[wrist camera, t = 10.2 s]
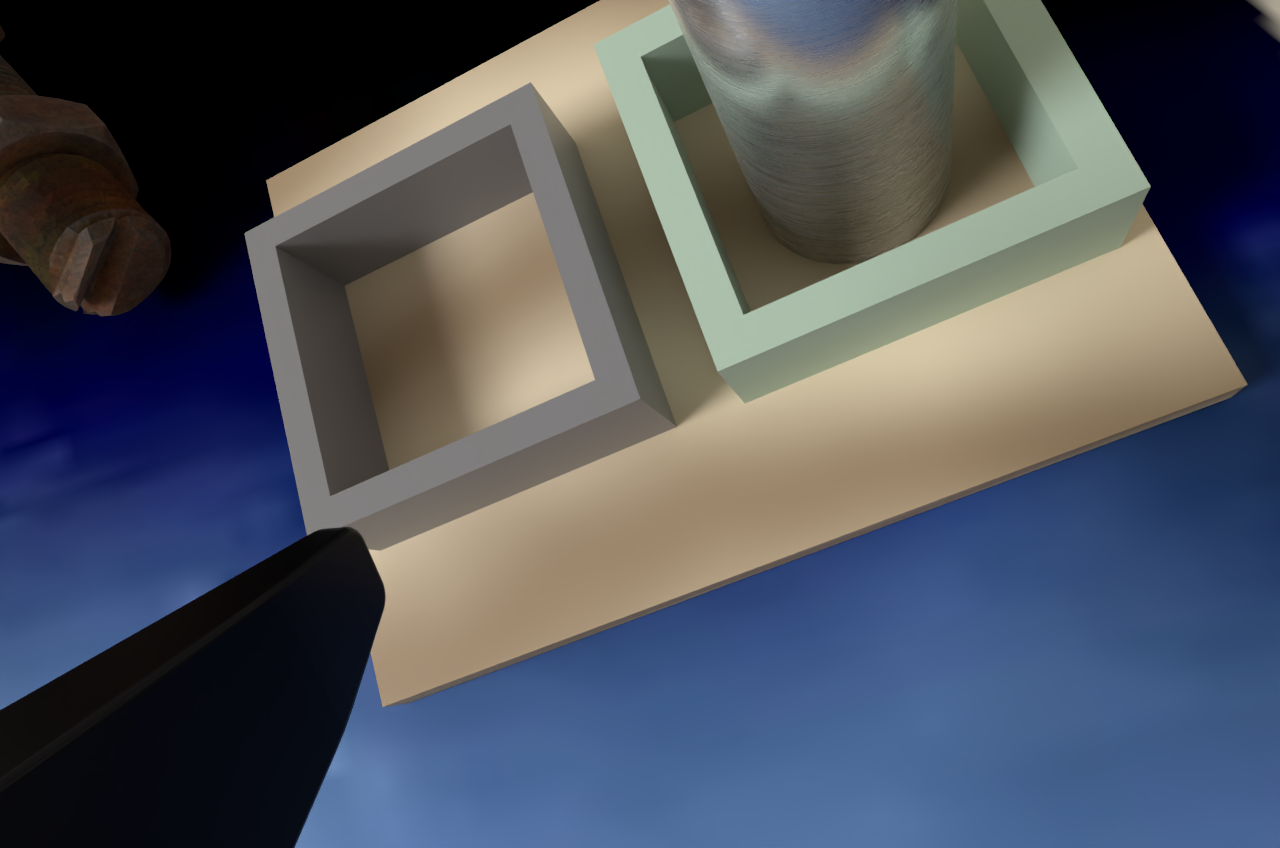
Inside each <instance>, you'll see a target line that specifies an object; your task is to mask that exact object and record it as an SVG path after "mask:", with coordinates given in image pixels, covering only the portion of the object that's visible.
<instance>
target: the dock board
mask: <svg viewBox="0 0 1280 848" xmlns="http://www.w3.org/2000/svg"><path fill="white" fill-rule="evenodd" d="M669 4H670V3H669V1H668V0H600V1H598V2H596V3H595V4H593V5H591V6H589V7H587V8H585V9H583V10H582V11H580V12H578V13H576V14H574V15H572V16H570V17H569V18H567V19H565V20H563V21H561V22H559V23H557V24H556V25H554V26H552V27H550V28H548V29H546V30H544V31H543V32H541V33H539V34H537V35H535V36H533V37H531V38H530V39H528V40H526V41H524V42H522V43H520V44H519V45H517V46H515V47H513V48H511V49H509V50H507V51H506V52H504V53H502V54H500V55H498V56H496V57H494V58H493V59H491V60H489V61H487V62H485V63H483V64H481V65H480V66H478V67H476V68H474V69H472V70H470V71H468V72H467V73H465V74H463V75H461V76H459V77H457V78H455V79H454V80H452V81H450V82H448V83H446V84H444V85H442V86H441V87H439V88H437V89H435V90H433V91H431V92H430V93H428V94H426V95H424V96H422V97H420V98H418V99H417V100H415V101H413V102H411V103H409V104H407V105H405V106H404V107H402V108H400V109H398V110H396V111H394V112H392V113H391V114H389V115H387V116H385V117H383V118H381V119H379V120H378V121H376V122H374V123H372V124H370V125H368V126H366V127H365V128H363V129H361V130H359V131H357V132H355V133H354V134H352V135H350V136H348V137H346V138H344V139H342V140H341V141H339V142H337V143H335V144H333V145H331V146H329V147H328V148H326V149H324V150H322V151H320V152H318V153H316V154H315V155H313V156H311V157H309V158H307V159H305V160H303V161H302V162H300V163H298V164H296V165H294V166H292V167H290V168H289V169H287V170H285V171H283V172H281V173H279V174H277V175H276V176H274V177H272V178H270V179H268V180H266V182H267V186H268V191H269V195H270V200H271V204H272V209H273V213H274V217H276V216H278V215H280V214H282V213H284V212H285V211H287V210H289V209H291V208H293V207H295V206H297V205H299V204H301V203H303V202H304V201H306V200H308V199H310V198H312V197H314V196H316V195H318V194H320V193H322V192H323V191H325V190H327V189H329V188H331V187H333V186H335V185H337V184H339V183H340V182H342V181H344V180H346V179H348V178H350V177H352V176H354V175H356V174H358V173H359V172H361V171H363V170H365V169H367V168H369V167H371V166H373V165H375V164H377V163H378V162H380V161H382V160H384V159H386V158H388V157H390V156H392V155H394V154H395V153H397V152H399V151H401V150H403V149H405V148H407V147H409V146H411V145H413V144H414V143H416V142H418V141H420V140H422V139H424V138H426V137H428V136H430V135H431V134H433V133H435V132H437V131H439V130H441V129H443V128H445V127H447V126H449V125H450V124H452V123H454V122H456V121H458V120H460V119H462V118H464V117H466V116H468V115H469V114H471V113H473V112H475V111H477V110H479V109H481V108H483V107H485V106H486V105H488V104H490V103H492V102H494V101H496V100H498V99H500V98H502V97H504V96H505V95H507V94H509V93H511V92H513V91H515V90H517V89H519V88H521V87H523V86H524V85H526V84H528V83H530V82H531V83H532V85H533V86H534V87H535V89H536V90H537V91H538V93H539V94H540V95H541V97H542V98H543V99H544V101H545V102H546V103H547V105H548V106H549V107H550V109H551V110H552V112H553V113H554V114H555V116H556V117H557V118H558V120H559V121H560V122H561V124H562V125H563V126H564V128H565V129H566V130H567V132H568V133H569V134H570V136H571V137H572V138H573V140H574V141H575V143H576V145H577V148H578V151H579V154H580V157H581V159H582V162H583V165H584V168H585V171H586V173H587V176H588V179H589V182H590V185H591V187H592V190H593V193H594V196H595V199H596V201H597V204H598V207H599V210H600V213H601V215H602V218H603V221H604V224H605V227H606V229H607V232H608V235H609V238H610V241H611V244H612V246H613V249H614V252H615V255H616V258H617V260H618V263H619V266H620V269H621V272H622V274H623V277H624V280H625V283H626V286H627V288H628V291H629V294H630V297H631V300H632V302H633V305H634V308H635V311H636V314H637V316H638V319H639V322H640V325H641V328H642V330H643V333H644V336H645V339H646V342H647V344H648V347H649V350H650V353H651V356H652V359H653V361H654V364H655V367H656V370H657V373H658V375H659V378H660V381H661V384H662V387H663V389H664V392H665V395H666V398H667V401H668V403H669V406H670V409H671V412H672V415H673V417H674V420H675V423H676V426H677V427H676V428H673V429H671V430H669V431H666V432H664V433H661V434H659V435H657V436H654V437H652V438H649V439H647V440H645V441H642V442H640V443H637V444H635V445H633V446H630V447H628V448H625V449H623V450H621V451H618V452H616V453H613V454H611V455H609V456H606V457H604V458H601V459H599V460H597V461H594V462H592V463H589V464H587V465H585V466H582V467H580V468H577V469H575V470H573V471H570V472H568V473H565V474H563V475H561V476H558V477H556V478H554V479H551V480H549V481H546V482H544V483H542V484H539V485H537V486H534V487H532V488H530V489H527V490H525V491H522V492H520V493H518V494H515V495H513V496H510V497H508V498H506V499H503V500H501V501H498V502H496V503H494V504H491V505H489V506H486V507H484V508H482V509H479V510H477V511H474V512H472V513H470V514H467V515H465V516H462V517H460V518H458V519H455V520H453V521H450V522H448V523H446V524H443V525H441V526H438V527H436V528H434V529H431V530H429V531H426V532H424V533H422V534H419V535H417V536H414V537H412V538H410V539H407V540H405V541H403V542H400V543H398V544H395V545H393V546H391V547H388V548H386V549H383V550H381V551H378V550H371V549H369V552H370V554H371V556H372V559H373V561H374V563H375V565H376V568H377V570H378V572H379V574H380V577H381V579H382V581H383V584H384V588H385V595H386V600H385V607H384V611H383V614H382V617H381V620H380V624H379V627H378V630H377V633H376V636H375V639H374V642H373V645H372V649H371V656H372V660H373V665H374V669H375V674H376V678H377V683H378V688H379V692H380V697H381V701H382V706H383V707H386V706H393V705H399V704H406V703H410V702H413V701H415V700H418V699H421V698H423V697H426V696H429V695H431V694H434V693H437V692H439V691H442V690H445V689H448V688H450V687H453V686H456V685H458V684H461V683H464V682H466V681H469V680H472V679H475V678H477V677H480V676H483V675H485V674H488V673H491V672H493V671H496V670H499V669H501V668H504V667H507V666H510V665H512V664H515V663H518V662H520V661H523V660H526V659H528V658H531V657H534V656H536V655H539V654H542V653H545V652H547V651H550V650H553V649H555V648H558V647H561V646H563V645H566V644H569V643H571V642H574V641H577V640H580V639H582V638H585V637H588V636H590V635H593V634H596V633H598V632H601V631H604V630H607V629H609V628H612V627H615V626H617V625H620V624H623V623H625V622H628V621H631V620H633V619H636V618H639V617H642V616H644V615H647V614H650V613H652V612H655V611H658V610H660V609H663V608H666V607H668V606H671V605H674V604H677V603H679V602H682V601H685V600H687V599H690V598H693V597H695V596H698V595H701V594H703V593H706V592H709V591H712V590H714V589H717V588H720V587H722V586H725V585H728V584H730V583H733V582H736V581H739V580H741V579H744V578H747V577H749V576H752V575H755V574H757V573H760V572H763V571H765V570H768V569H771V568H774V567H776V566H779V565H782V564H784V563H787V562H790V561H792V560H795V559H798V558H800V557H803V556H806V555H809V554H811V553H814V552H817V551H819V550H822V549H825V548H827V547H830V546H833V545H835V544H838V543H841V542H844V541H846V540H849V539H852V538H854V537H857V536H860V535H862V534H865V533H868V532H871V531H873V530H876V529H879V528H881V527H884V526H887V525H889V524H892V523H895V522H897V521H900V520H903V519H906V518H908V517H911V516H914V515H916V514H919V513H922V512H924V511H927V510H930V509H932V508H935V507H938V506H941V505H943V504H946V503H949V502H951V501H954V500H957V499H959V498H962V497H965V496H968V495H970V494H973V493H976V492H978V491H981V490H984V489H986V488H989V487H992V486H994V485H997V484H1000V483H1003V482H1005V481H1008V480H1011V479H1013V478H1016V477H1019V476H1021V475H1024V474H1027V473H1029V472H1032V471H1035V470H1038V469H1040V468H1043V467H1046V466H1048V465H1051V464H1054V463H1056V462H1059V461H1062V460H1064V459H1067V458H1070V457H1073V456H1075V455H1078V454H1081V453H1083V452H1086V451H1089V450H1091V449H1094V448H1097V447H1100V446H1102V445H1105V444H1108V443H1110V442H1113V441H1116V440H1118V439H1121V438H1124V437H1126V436H1129V435H1132V434H1135V433H1137V432H1140V431H1143V430H1145V429H1148V428H1151V427H1153V426H1156V425H1159V424H1161V423H1164V422H1167V421H1170V420H1172V419H1175V418H1178V417H1180V416H1183V415H1186V414H1188V413H1191V412H1194V411H1196V410H1199V409H1202V408H1205V407H1207V406H1210V405H1213V404H1215V403H1218V402H1221V401H1223V400H1226V399H1229V398H1231V397H1232V396H1233V395H1235V394H1236V393H1237V392H1239V391H1240V390H1241V389H1243V388H1244V387H1245V386H1246V385H1248V384H1247V382H1246V381H1245V379H1244V377H1243V376H1242V374H1241V372H1240V370H1239V369H1238V367H1237V365H1236V364H1235V362H1234V360H1233V358H1232V357H1231V355H1230V353H1229V352H1228V350H1227V348H1226V346H1225V345H1224V343H1223V341H1222V340H1221V338H1220V336H1219V334H1218V333H1217V331H1216V329H1215V328H1214V326H1213V324H1212V322H1211V321H1210V319H1209V317H1208V316H1207V314H1206V312H1205V310H1204V309H1203V307H1202V305H1201V304H1200V302H1199V300H1198V298H1197V297H1196V295H1195V293H1194V292H1193V290H1192V288H1191V286H1190V285H1189V283H1188V281H1187V280H1186V278H1185V276H1184V274H1183V273H1182V271H1181V269H1180V267H1179V266H1178V264H1177V262H1176V261H1175V259H1174V257H1173V255H1172V254H1171V252H1170V250H1169V249H1168V247H1167V245H1166V243H1165V242H1164V240H1163V238H1162V237H1161V235H1160V233H1159V231H1158V230H1157V228H1156V226H1155V225H1154V223H1153V221H1152V219H1151V218H1150V216H1149V214H1148V213H1147V211H1146V209H1145V207H1144V206H1143V204H1142V205H1141V207H1140V209H1139V211H1138V213H1137V215H1136V217H1135V219H1134V221H1133V223H1132V225H1131V227H1130V229H1129V231H1128V233H1127V235H1126V237H1125V239H1124V241H1123V243H1122V245H1121V247H1120V248H1118V249H1116V250H1113V251H1111V252H1108V253H1106V254H1104V255H1101V256H1099V257H1096V258H1094V259H1092V260H1089V261H1087V262H1084V263H1082V264H1080V265H1077V266H1075V267H1072V268H1070V269H1068V270H1065V271H1063V272H1060V273H1058V274H1055V275H1053V276H1051V277H1048V278H1046V279H1043V280H1041V281H1039V282H1036V283H1034V284H1031V285H1029V286H1027V287H1024V288H1022V289H1019V290H1017V291H1015V292H1012V293H1010V294H1007V295H1005V296H1003V297H1000V298H998V299H995V300H993V301H991V302H988V303H986V304H983V305H981V306H979V307H976V308H974V309H971V310H969V311H967V312H964V313H962V314H959V315H957V316H955V317H952V318H950V319H947V320H945V321H942V322H940V323H938V324H935V325H933V326H930V327H928V328H926V329H923V330H921V331H918V332H916V333H914V334H911V335H909V336H906V337H904V338H902V339H899V340H897V341H894V342H892V343H890V344H887V345H885V346H882V347H880V348H878V349H875V350H873V351H870V352H868V353H866V354H863V355H861V356H858V357H856V358H854V359H851V360H849V361H846V362H844V363H842V364H839V365H837V366H834V367H832V368H829V369H827V370H825V371H822V372H820V373H817V374H815V375H813V376H810V377H808V378H805V379H803V380H801V381H798V382H796V383H793V384H791V385H789V386H786V387H784V388H781V389H779V390H777V391H774V392H772V393H769V394H767V395H765V396H762V397H760V398H757V399H755V400H753V401H750V402H748V403H744V402H743V401H742V400H741V399H740V397H739V396H738V395H737V394H736V393H735V391H734V390H733V389H732V388H731V387H730V386H729V384H728V383H727V382H726V381H725V380H724V379H723V377H722V376H721V375H720V374H719V373H718V371H717V369H716V366H715V364H714V361H713V358H712V356H711V353H710V350H709V348H708V345H707V343H706V340H705V337H704V335H703V332H702V329H701V327H700V324H699V321H698V319H697V316H696V314H695V311H694V308H693V306H692V303H691V300H690V298H689V295H688V293H687V290H686V287H685V285H684V282H683V279H682V277H681V274H680V271H679V269H678V266H677V264H676V261H675V258H674V256H673V253H672V250H671V248H670V245H669V243H668V240H667V237H666V235H665V232H664V229H663V227H662V224H661V221H660V219H659V216H658V214H657V211H656V208H655V206H654V203H653V200H652V198H651V195H650V193H649V190H648V187H647V185H646V182H645V179H644V177H643V174H642V171H641V169H640V166H639V164H638V161H637V158H636V156H635V153H634V150H633V148H632V145H631V143H630V140H629V137H628V135H627V132H626V129H625V127H624V124H623V121H622V119H621V116H620V114H619V111H618V108H617V106H616V103H615V100H614V98H613V95H612V93H611V90H610V87H609V85H608V82H607V79H606V77H605V74H604V71H603V69H602V66H601V64H600V61H599V58H598V56H597V53H596V50H595V48H594V44H595V43H597V42H599V41H601V40H603V39H605V38H607V37H609V36H611V35H613V34H614V33H616V32H618V31H620V30H622V29H624V28H626V27H628V26H630V25H631V24H633V23H635V22H637V21H639V20H641V19H643V18H645V17H647V16H648V15H650V14H652V13H654V12H656V11H658V10H660V9H662V8H664V7H665V6H667V5H669ZM674 123H675V125H676V128H677V130H678V133H679V135H680V138H681V140H682V143H683V145H684V148H685V150H686V153H687V155H688V158H689V160H690V163H691V165H692V168H693V170H694V173H695V175H696V178H697V180H698V183H699V185H700V188H701V190H702V193H703V195H704V198H705V200H706V203H707V205H708V208H709V210H710V212H711V215H712V217H713V220H714V222H715V225H716V227H717V230H718V232H719V235H720V237H721V240H722V242H723V245H724V247H725V250H726V252H727V255H728V257H729V260H730V262H731V265H732V267H733V270H734V272H735V275H736V277H737V280H738V282H739V285H740V287H741V290H742V292H743V295H744V297H745V300H746V302H747V305H748V307H749V309H750V312H751V311H754V310H756V309H758V308H760V307H763V306H765V305H767V304H769V303H772V302H774V301H776V300H779V299H781V298H783V297H785V296H788V295H790V294H792V293H795V292H797V291H799V290H801V289H804V288H806V287H808V286H810V285H813V284H815V283H817V282H820V281H822V280H824V279H826V278H829V277H831V276H833V275H836V274H838V273H840V272H842V271H845V270H847V269H849V268H851V267H854V266H856V265H858V264H861V263H857V264H847V265H843V264H828V263H821V262H818V261H814V260H811V259H808V258H805V257H803V256H801V255H798V254H797V253H795V252H793V251H792V250H790V249H788V248H787V247H786V246H784V245H783V244H782V243H781V242H780V241H778V239H777V238H776V237H775V236H774V235H773V234H772V233H771V232H770V230H769V229H768V227H767V226H766V224H765V222H764V220H763V218H762V216H761V214H760V212H759V209H758V207H757V205H756V202H755V200H754V198H753V195H752V193H751V191H750V188H749V186H748V184H747V182H746V179H745V177H744V175H743V172H742V170H741V168H740V165H739V163H738V161H737V158H736V156H735V154H734V151H733V149H732V147H731V145H730V142H729V140H728V138H727V135H726V133H725V131H724V128H723V126H722V124H721V121H720V119H719V117H718V114H717V112H716V110H715V107H714V105H713V103H711V104H709V105H707V106H705V107H703V108H701V109H699V110H697V111H695V112H693V113H691V114H689V115H687V116H685V117H683V118H681V119H679V120H677V121H675V122H674ZM1034 187H1035V186H1034V184H1033V182H1032V181H1031V179H1030V177H1029V175H1028V173H1027V171H1026V169H1025V168H1024V166H1023V164H1022V162H1021V160H1020V158H1019V157H1018V155H1017V153H1016V151H1015V149H1014V147H1013V146H1012V144H1011V142H1010V140H1009V138H1008V136H1007V134H1006V133H1005V131H1004V129H1003V127H1002V125H1001V123H1000V122H999V120H998V118H997V116H996V114H995V112H994V110H993V109H992V107H991V105H990V103H989V101H988V99H987V98H986V96H985V94H984V92H983V90H982V88H981V86H980V85H979V83H978V81H977V79H976V77H975V75H974V74H973V72H972V70H971V68H970V66H969V64H968V62H967V61H966V59H965V57H964V55H963V53H962V51H961V50H960V48H959V46H958V44H957V42H956V51H955V78H954V105H953V131H952V158H951V174H950V181H949V186H948V190H947V193H946V195H945V198H944V200H943V203H942V205H941V206H940V208H939V210H938V212H937V214H936V215H935V216H934V218H933V219H932V220H931V222H930V223H929V225H928V226H927V227H926V228H925V229H924V230H923V231H922V232H921V233H920V234H919V235H918V236H916V237H915V238H914V239H913V240H915V239H918V238H920V237H922V236H924V235H927V234H929V233H931V232H934V231H936V230H938V229H940V228H943V227H945V226H947V225H949V224H952V223H954V222H956V221H959V220H961V219H963V218H965V217H968V216H970V215H972V214H975V213H977V212H979V211H981V210H984V209H986V208H988V207H990V206H993V205H995V204H997V203H1000V202H1002V201H1004V200H1006V199H1009V198H1011V197H1013V196H1016V195H1018V194H1020V193H1022V192H1025V191H1027V190H1029V189H1031V188H1034ZM913 240H912V241H913ZM910 242H911V241H910ZM345 290H346V294H347V298H348V302H349V306H350V310H351V314H352V319H353V323H354V327H355V331H356V335H357V339H358V343H359V347H360V351H361V356H362V360H363V364H364V368H365V372H366V376H367V380H368V384H369V388H370V393H371V397H372V401H373V405H374V409H375V413H376V417H377V421H378V425H379V430H380V434H381V438H382V442H383V446H384V450H385V454H386V458H387V462H388V467H389V470H391V469H393V468H396V467H398V466H400V465H403V464H405V463H407V462H409V461H412V460H414V459H416V458H419V457H421V456H423V455H425V454H428V453H430V452H432V451H435V450H437V449H439V448H441V447H444V446H446V445H448V444H450V443H453V442H455V441H457V440H460V439H462V438H464V437H466V436H469V435H471V434H473V433H476V432H478V431H480V430H482V429H485V428H487V427H489V426H491V425H494V424H496V423H498V422H501V421H503V420H505V419H507V418H510V417H512V416H514V415H517V414H519V413H521V412H523V411H526V410H528V409H530V408H532V407H535V406H537V405H539V404H542V403H544V402H546V401H548V400H551V399H553V398H555V397H558V396H560V395H562V394H564V393H567V392H569V391H571V390H574V389H576V388H578V387H580V386H583V385H585V384H587V383H589V382H592V381H594V380H595V378H594V375H593V372H592V369H591V366H590V363H589V360H588V357H587V354H586V351H585V348H584V345H583V342H582V339H581V336H580V333H579V330H578V327H577V324H576V320H575V317H574V314H573V311H572V308H571V305H570V302H569V299H568V296H567V293H566V290H565V287H564V284H563V281H562V278H561V275H560V272H559V269H558V266H557V263H556V260H555V257H554V254H553V251H552V248H551V245H550V242H549V239H548V236H547V233H546V230H545V227H544V224H543V221H542V218H541V215H540V212H539V209H538V206H537V203H536V200H535V197H534V194H533V192H532V193H530V194H528V195H526V196H524V197H522V198H520V199H518V200H516V201H514V202H512V203H510V204H508V205H506V206H504V207H502V208H500V209H498V210H496V211H494V212H492V213H490V214H488V215H486V216H484V217H482V218H480V219H478V220H476V221H474V222H472V223H470V224H468V225H466V226H464V227H462V228H460V229H458V230H456V231H454V232H452V233H450V234H448V235H446V236H444V237H442V238H440V239H438V240H436V241H434V242H432V243H430V244H428V245H426V246H424V247H422V248H420V249H418V250H416V251H414V252H412V253H410V254H408V255H406V256H404V257H402V258H400V259H398V260H396V261H394V262H392V263H390V264H388V265H386V266H384V267H382V268H379V269H377V270H375V271H373V272H371V273H369V274H367V275H365V276H363V277H361V278H359V279H357V280H355V281H353V282H351V283H349V284H347V285H345Z"/></svg>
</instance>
